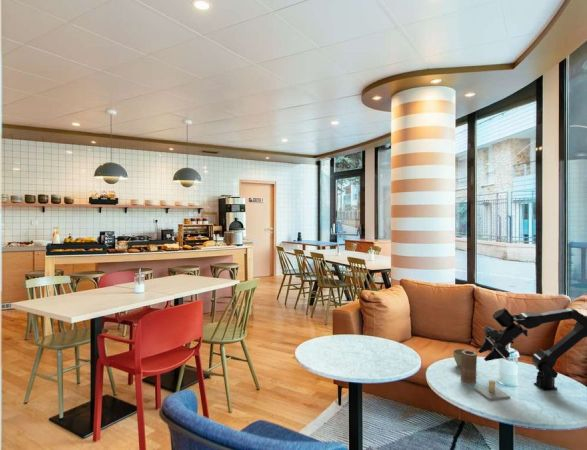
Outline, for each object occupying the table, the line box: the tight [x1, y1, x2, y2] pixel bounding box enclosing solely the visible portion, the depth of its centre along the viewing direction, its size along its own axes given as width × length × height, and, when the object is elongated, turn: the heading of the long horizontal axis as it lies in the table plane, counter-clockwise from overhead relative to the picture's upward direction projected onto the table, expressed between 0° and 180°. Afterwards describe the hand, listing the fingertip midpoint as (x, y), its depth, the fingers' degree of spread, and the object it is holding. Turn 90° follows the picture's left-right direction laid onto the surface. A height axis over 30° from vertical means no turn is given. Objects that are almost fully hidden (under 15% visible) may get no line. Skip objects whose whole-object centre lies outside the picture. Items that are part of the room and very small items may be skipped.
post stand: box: [473, 379, 511, 401], centre depth 168 cm, size 10×10×5 cm
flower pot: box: [452, 348, 467, 368], centre depth 195 cm, size 10×10×7 cm
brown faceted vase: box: [460, 349, 478, 384], centre depth 180 cm, size 6×6×13 cm
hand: (481, 356), depth 179 cm, fingers open, 9 cm apart
